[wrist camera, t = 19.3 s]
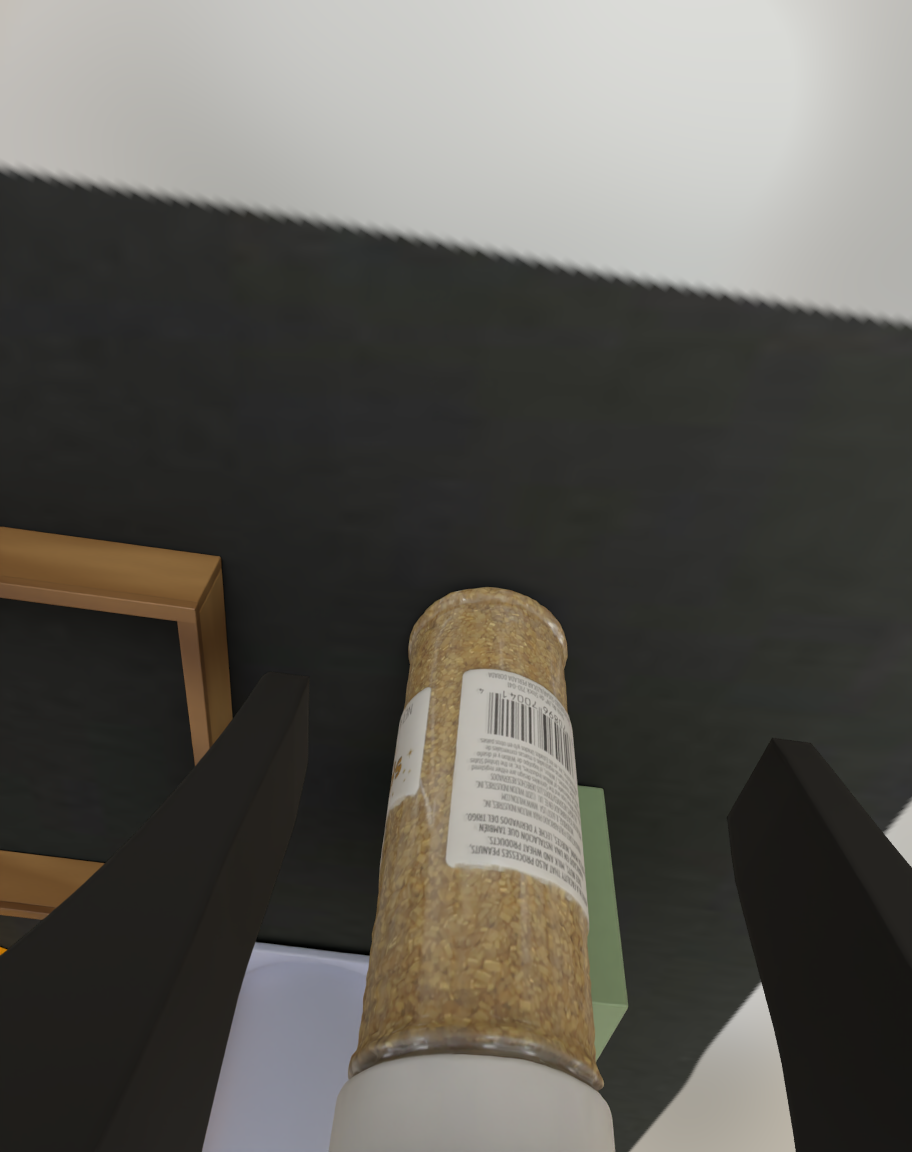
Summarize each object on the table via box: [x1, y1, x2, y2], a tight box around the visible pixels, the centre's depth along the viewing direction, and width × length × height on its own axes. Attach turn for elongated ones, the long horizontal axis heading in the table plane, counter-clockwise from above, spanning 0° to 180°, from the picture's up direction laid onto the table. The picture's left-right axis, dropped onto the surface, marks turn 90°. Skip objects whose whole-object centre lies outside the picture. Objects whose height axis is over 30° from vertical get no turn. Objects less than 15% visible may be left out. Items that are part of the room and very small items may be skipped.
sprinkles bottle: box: [329, 587, 615, 1152], centre depth 17 cm, size 5×5×14 cm
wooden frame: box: [0, 527, 233, 920], centre depth 25 cm, size 16×14×2 cm
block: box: [577, 785, 628, 1061], centre depth 24 cm, size 4×4×7 cm
